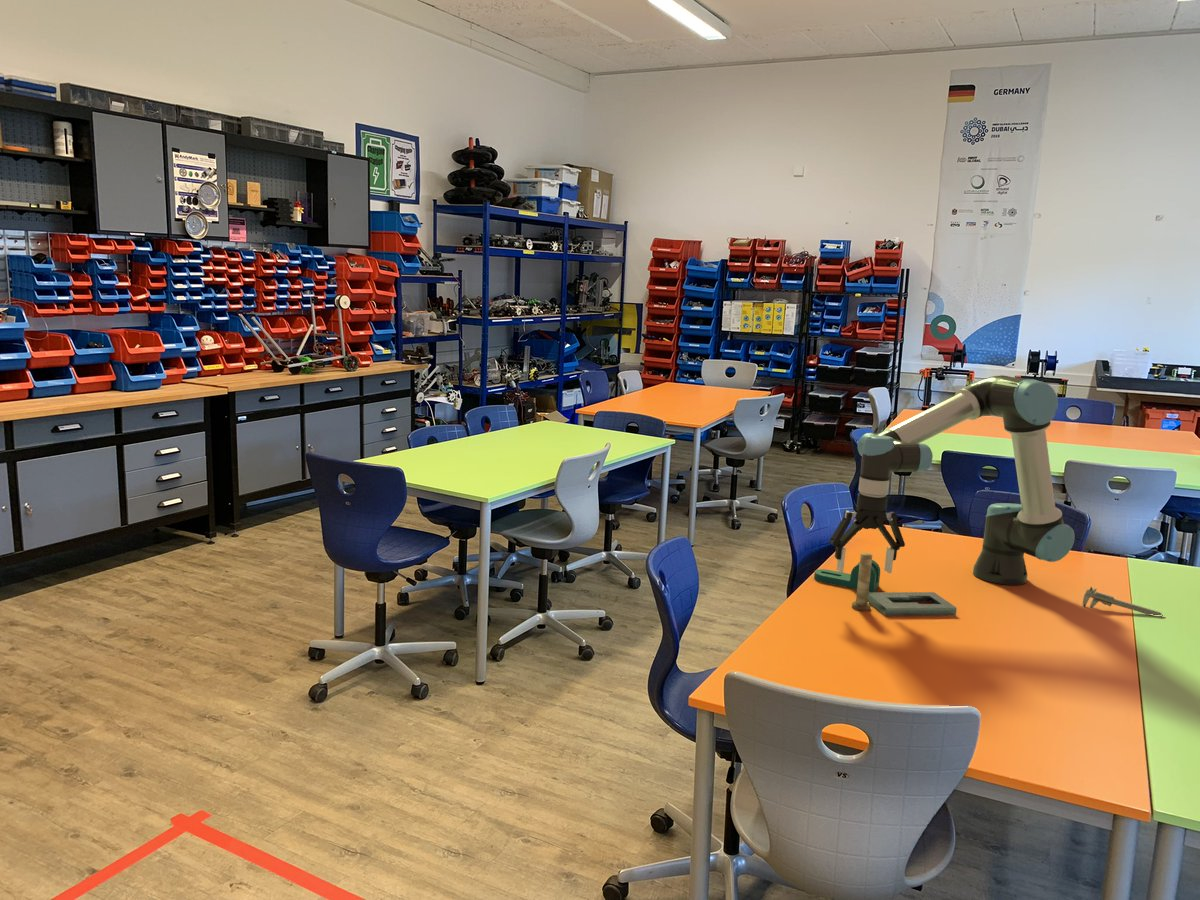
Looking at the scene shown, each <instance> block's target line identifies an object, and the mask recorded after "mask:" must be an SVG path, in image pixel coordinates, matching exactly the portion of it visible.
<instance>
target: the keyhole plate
mask: <svg viewBox="0 0 1200 900" xmlns="http://www.w3.org/2000/svg"><path fill="white" fill-rule="evenodd" d="M868 602H869V603H868ZM868 602H867V603H868V604H870V605H871V607H873V606H874V607H873V608H874V609H876V610H877V612H880V613H881V614H882V615H883V616H884V617H908V616H909V617H913V616H914V617H917V616H918V617H919V616H920V617H922V616H923V617H924V616H925V617H929V616H930V617H931V616H932V617H934V616H935V617H936V616H939V617H940V616H944V617H946V616H949V617H950V616H956V615H957V607H956V606H955V605H953V604H952V602H951V603H950V602H949V601H948V600H946V599H945V598H943V597H941V595H939V594H937V593H936V592H933V591H931V592H930V591H925V592H924V591H921V592H920V591H919V592H918V591H913V592H912V591H911V592H910V591H909V592H908V591H905V592H903V591H902V592H900V591H899V592H895V591H894V592H891V591H890V592H876V591H875V592H869V593H868ZM919 602H920V603H919ZM922 602H923V603H922ZM924 602H925V603H926V604H925V603H924ZM921 603H922V604H921Z"/></svg>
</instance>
